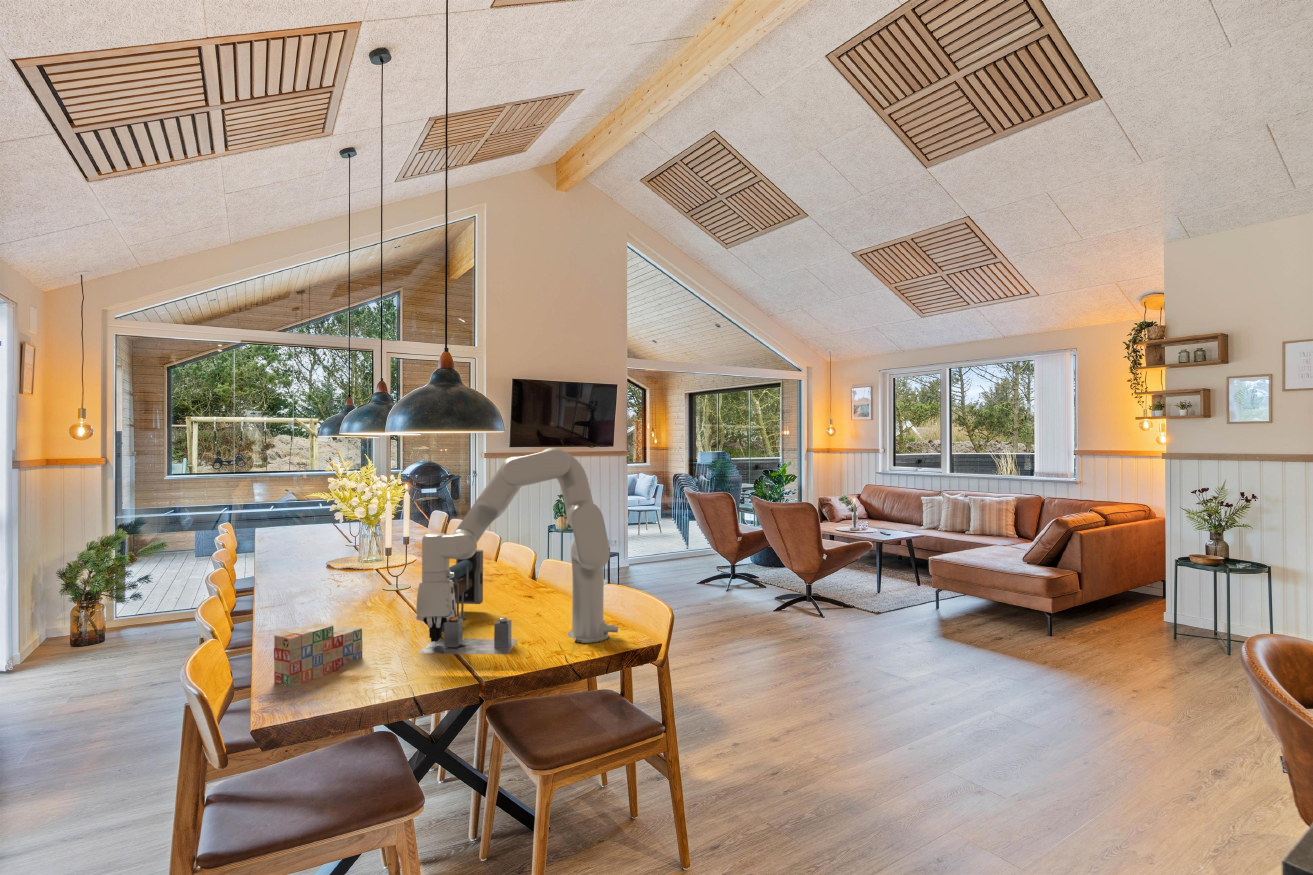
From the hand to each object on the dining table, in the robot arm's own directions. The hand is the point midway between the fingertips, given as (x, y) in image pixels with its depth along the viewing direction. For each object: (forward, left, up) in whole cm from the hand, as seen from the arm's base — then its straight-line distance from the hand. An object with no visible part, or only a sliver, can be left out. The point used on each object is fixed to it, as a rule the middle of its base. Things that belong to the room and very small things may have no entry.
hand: (435, 640), depth 196 cm
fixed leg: (-19, 0, -2) cm, 19 cm away
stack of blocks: (+24, +19, -3) cm, 31 cm away
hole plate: (-10, 0, -3) cm, 10 cm away
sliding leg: (-5, 0, -2) cm, 5 cm away
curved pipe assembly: (+4, -28, -3) cm, 28 cm away
